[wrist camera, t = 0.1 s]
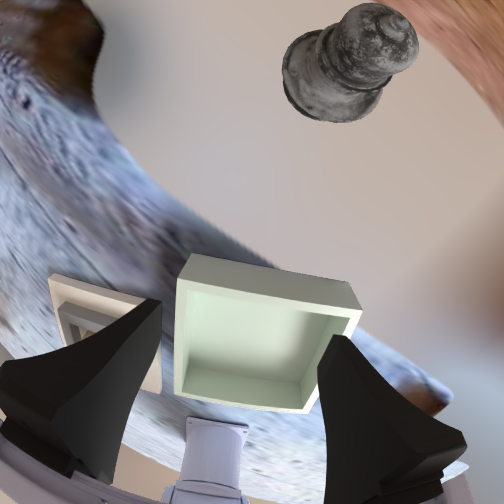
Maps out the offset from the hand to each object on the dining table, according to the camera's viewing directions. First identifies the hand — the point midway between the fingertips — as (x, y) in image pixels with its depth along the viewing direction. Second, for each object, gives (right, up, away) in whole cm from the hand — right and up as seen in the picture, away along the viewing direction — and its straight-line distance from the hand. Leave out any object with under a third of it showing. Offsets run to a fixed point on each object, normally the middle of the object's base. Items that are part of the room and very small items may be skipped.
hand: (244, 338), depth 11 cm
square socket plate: (-14, -5, +14) cm, 21 cm away
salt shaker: (+5, +15, +5) cm, 16 cm away
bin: (+1, -3, +12) cm, 13 cm away
